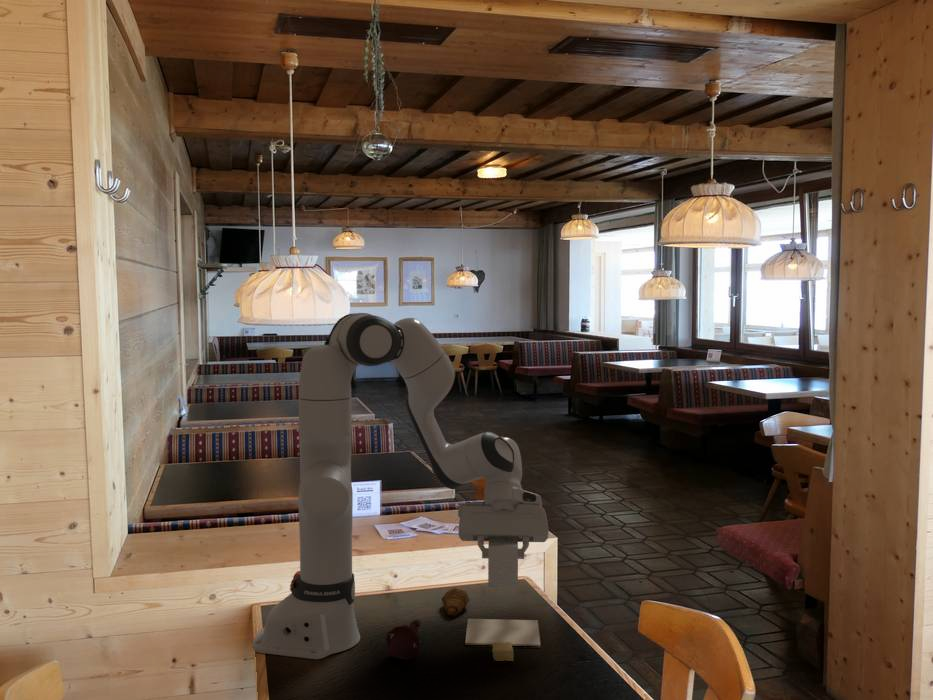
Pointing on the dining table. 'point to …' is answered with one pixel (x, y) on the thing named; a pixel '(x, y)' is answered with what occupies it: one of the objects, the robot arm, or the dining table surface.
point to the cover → (503, 562)
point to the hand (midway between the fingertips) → (503, 557)
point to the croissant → (454, 601)
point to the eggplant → (404, 641)
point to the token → (502, 651)
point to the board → (502, 632)
